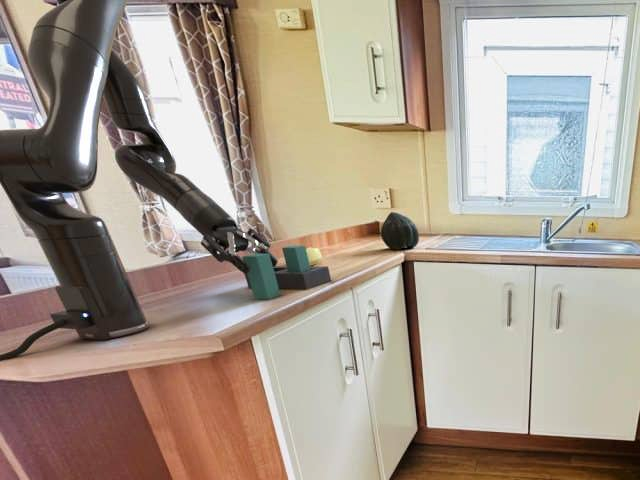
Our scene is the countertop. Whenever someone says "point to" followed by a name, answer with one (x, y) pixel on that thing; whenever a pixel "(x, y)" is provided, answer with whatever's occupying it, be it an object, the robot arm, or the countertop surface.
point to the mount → (299, 277)
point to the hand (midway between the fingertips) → (262, 267)
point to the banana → (312, 256)
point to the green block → (262, 276)
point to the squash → (399, 232)
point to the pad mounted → (296, 258)
